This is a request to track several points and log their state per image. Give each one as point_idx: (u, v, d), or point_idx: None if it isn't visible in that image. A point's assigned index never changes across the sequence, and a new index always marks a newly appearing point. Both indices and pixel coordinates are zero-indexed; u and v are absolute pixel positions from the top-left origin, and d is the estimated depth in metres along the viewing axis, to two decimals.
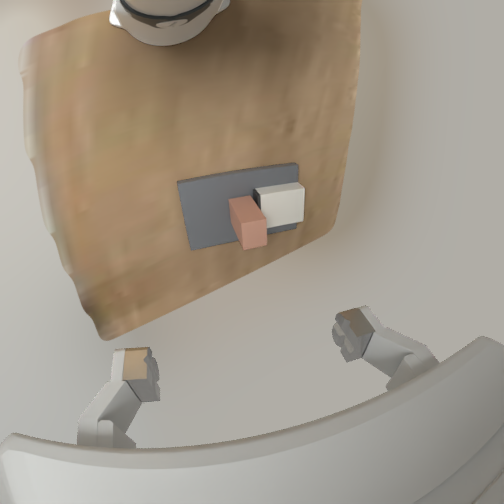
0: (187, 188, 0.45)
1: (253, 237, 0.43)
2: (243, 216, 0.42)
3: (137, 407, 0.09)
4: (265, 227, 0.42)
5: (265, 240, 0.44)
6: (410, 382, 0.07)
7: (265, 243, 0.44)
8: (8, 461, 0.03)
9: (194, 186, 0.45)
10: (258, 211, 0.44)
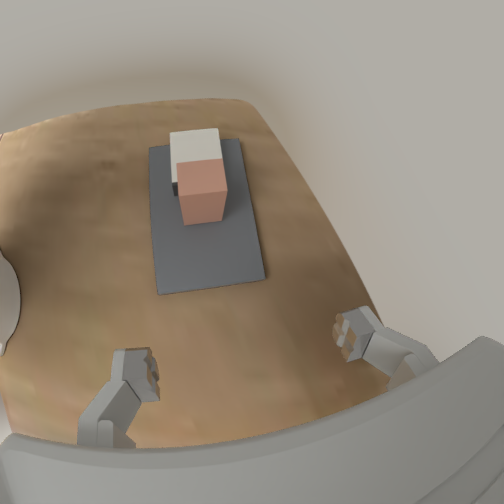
0: (164, 280, 0.33)
1: (205, 178, 0.27)
2: None
3: (137, 407, 0.09)
4: (190, 162, 0.27)
5: (213, 161, 0.28)
6: (410, 382, 0.07)
7: (219, 160, 0.28)
8: (8, 461, 0.03)
9: (163, 270, 0.33)
10: None
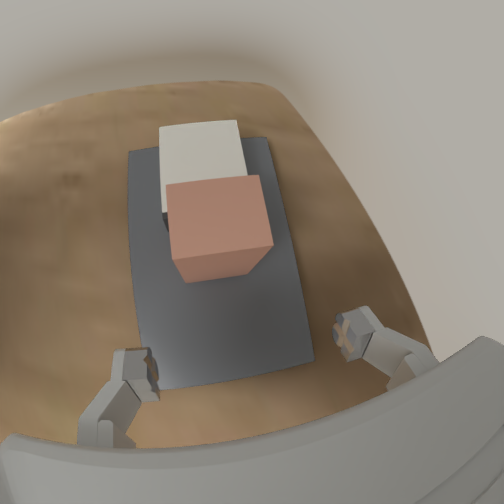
0: (160, 371, 0.19)
1: (226, 217, 0.13)
2: None
3: (137, 407, 0.09)
4: (194, 184, 0.14)
5: (241, 180, 0.14)
6: (410, 382, 0.07)
7: (252, 179, 0.14)
8: (8, 461, 0.03)
9: (156, 356, 0.20)
10: None
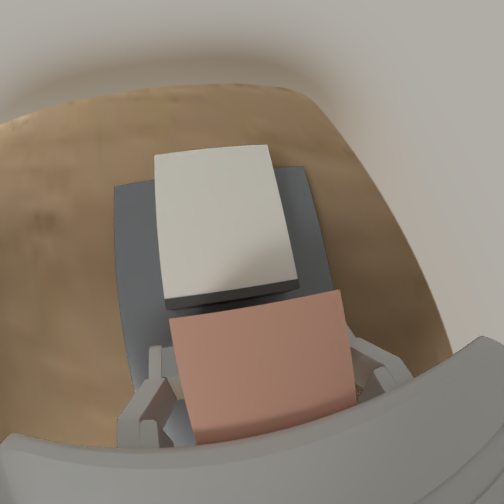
0: None
1: (288, 379, 0.07)
2: None
3: (173, 405, 0.09)
4: (226, 317, 0.07)
5: (311, 303, 0.08)
6: (410, 382, 0.07)
7: (329, 300, 0.08)
8: (8, 461, 0.03)
9: None
10: None
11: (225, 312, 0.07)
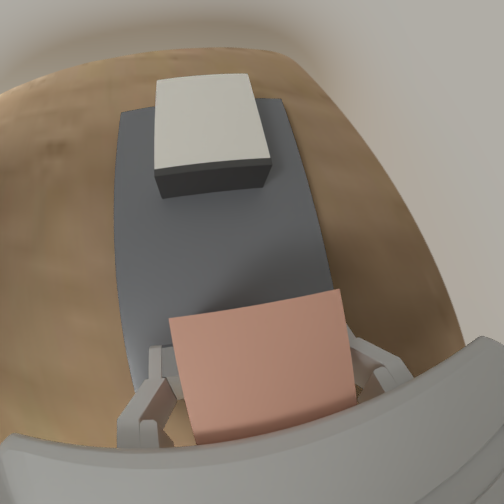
0: (148, 378, 0.14)
1: (288, 379, 0.07)
2: None
3: (173, 405, 0.09)
4: (225, 317, 0.07)
5: (311, 303, 0.08)
6: (410, 382, 0.07)
7: (329, 299, 0.08)
8: (8, 461, 0.03)
9: (143, 358, 0.15)
10: None
11: (225, 311, 0.07)
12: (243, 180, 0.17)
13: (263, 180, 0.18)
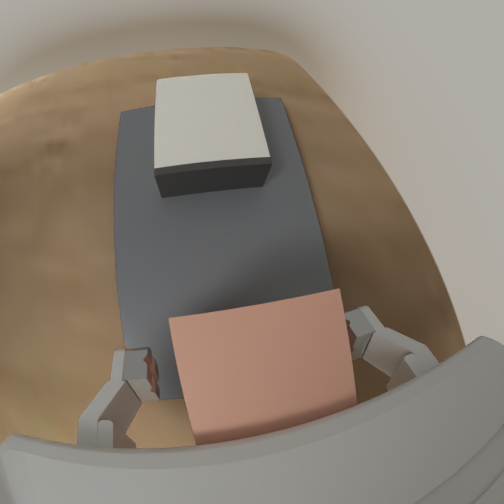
0: None
1: (288, 379, 0.07)
2: None
3: (137, 407, 0.09)
4: (225, 316, 0.07)
5: (311, 302, 0.08)
6: (410, 382, 0.07)
7: (329, 299, 0.08)
8: (8, 461, 0.03)
9: None
10: None
11: (225, 311, 0.07)
12: (243, 179, 0.17)
13: (263, 179, 0.18)
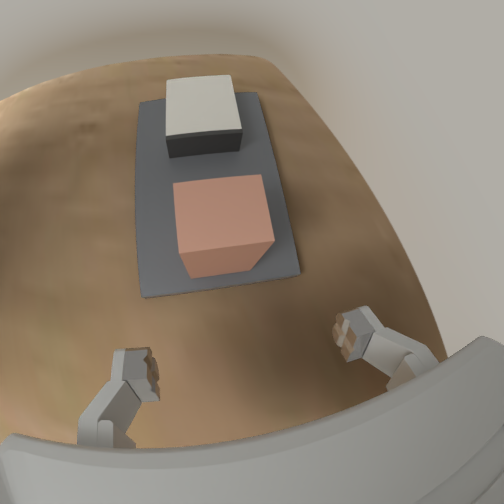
0: (151, 277, 0.22)
1: (230, 214, 0.14)
2: None
3: (137, 407, 0.09)
4: (200, 182, 0.14)
5: (244, 179, 0.15)
6: (410, 382, 0.07)
7: (255, 178, 0.15)
8: (8, 461, 0.03)
9: (149, 262, 0.22)
10: None
11: (200, 180, 0.15)
12: (224, 145, 0.24)
13: (238, 145, 0.25)
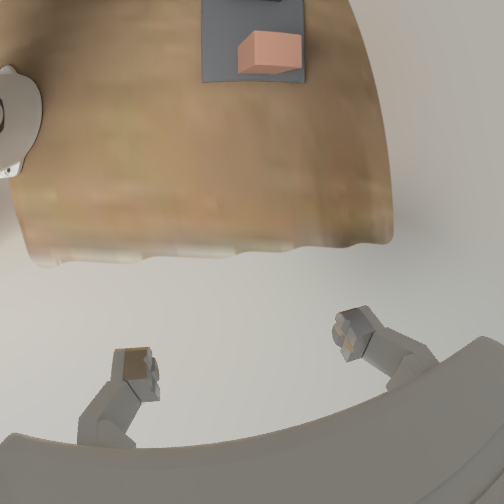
0: (211, 70, 0.29)
1: (282, 51, 0.21)
2: (250, 59, 0.23)
3: (137, 407, 0.09)
4: (269, 32, 0.20)
5: (292, 35, 0.21)
6: (410, 382, 0.07)
7: (297, 36, 0.21)
8: (8, 461, 0.03)
9: (210, 61, 0.28)
10: (248, 39, 0.22)
11: (269, 31, 0.20)
12: None
13: None
